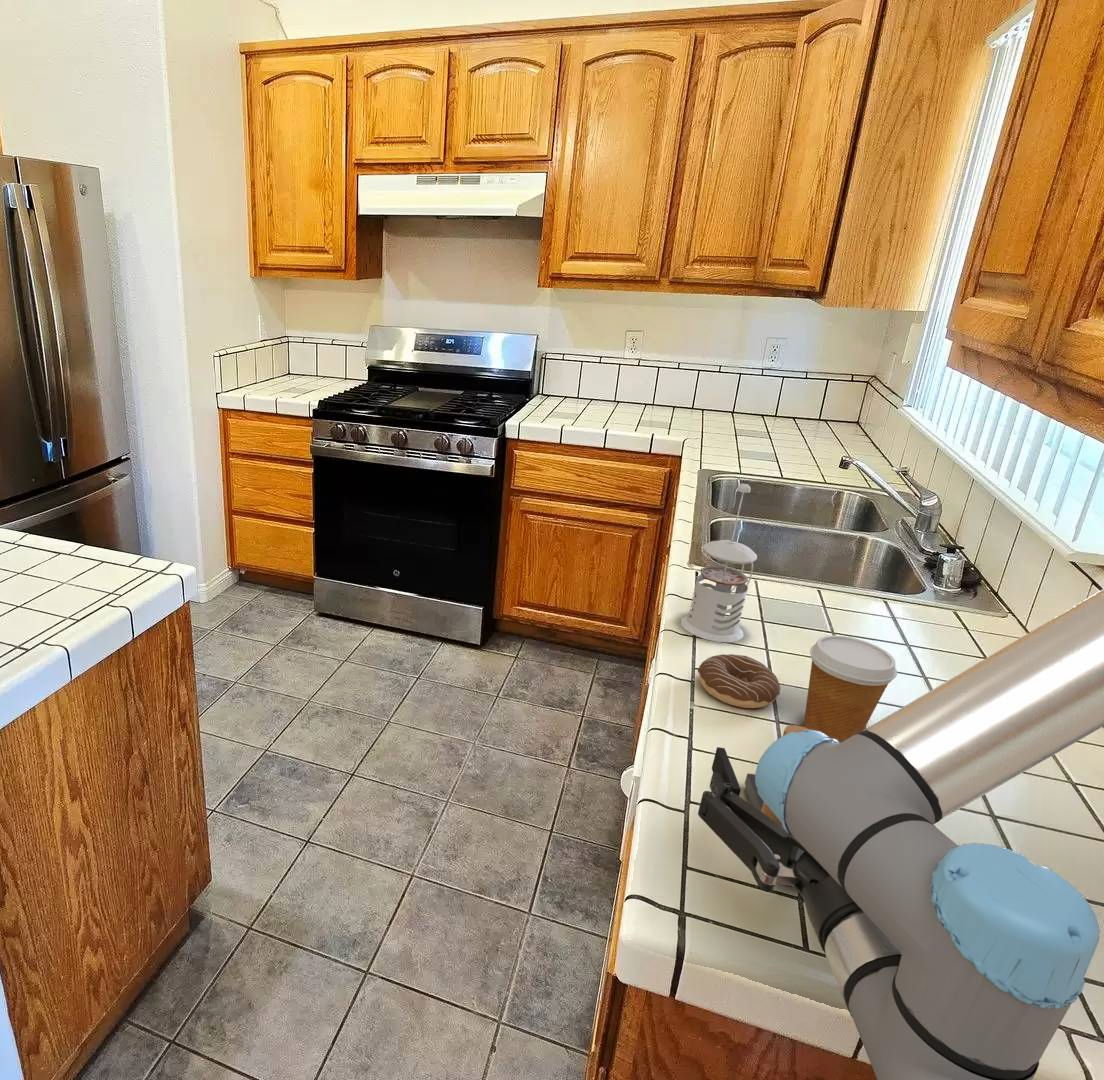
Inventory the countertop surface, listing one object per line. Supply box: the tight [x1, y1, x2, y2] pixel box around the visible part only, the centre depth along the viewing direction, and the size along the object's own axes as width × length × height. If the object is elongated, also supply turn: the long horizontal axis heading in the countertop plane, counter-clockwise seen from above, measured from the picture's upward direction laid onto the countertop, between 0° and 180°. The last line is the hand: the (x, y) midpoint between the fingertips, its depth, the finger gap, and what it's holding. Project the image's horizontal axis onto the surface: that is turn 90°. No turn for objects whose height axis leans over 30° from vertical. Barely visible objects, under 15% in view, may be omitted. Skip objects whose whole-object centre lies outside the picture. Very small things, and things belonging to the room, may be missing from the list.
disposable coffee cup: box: [803, 634, 898, 743], centre depth 96 cm, size 10×10×12 cm
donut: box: [697, 653, 781, 709], centre depth 106 cm, size 11×11×4 cm
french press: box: [680, 483, 758, 643], centre depth 121 cm, size 10×12×25 cm
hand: (787, 768), depth 77 cm, fingers open, 13 cm apart
